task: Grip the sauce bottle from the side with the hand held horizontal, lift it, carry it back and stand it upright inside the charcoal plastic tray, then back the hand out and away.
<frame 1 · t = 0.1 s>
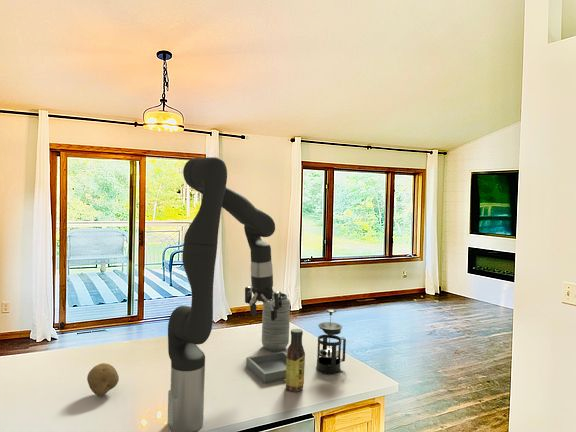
hand: (263, 317, 146), 22 cm above the counter, tool pointing down, fingers open, 8 cm apart
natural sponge: (103, 395, 132), on the counter
tray: (274, 371, 155), on the counter
vase: (274, 348, 179), on the counter
french press: (329, 369, 159), on the counter
sauce bottle: (294, 388, 142), on the counter
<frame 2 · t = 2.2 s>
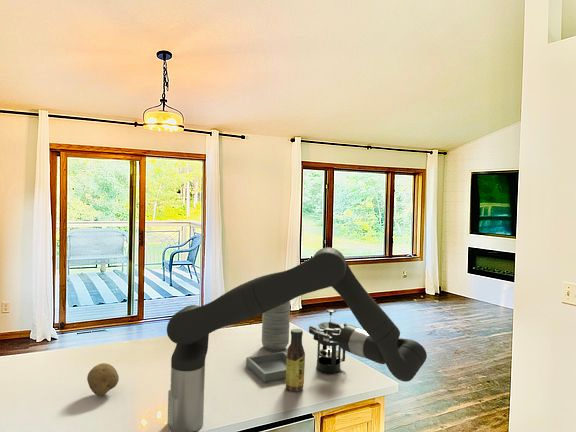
hand: (319, 326, 132), 24 cm above the counter, tool horizontal, fingers open, 8 cm apart
nothing on the counter moved.
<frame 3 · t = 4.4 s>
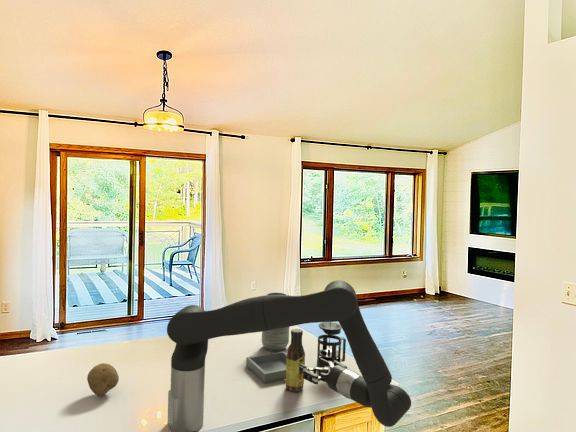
hand: (309, 363, 136), 11 cm above the counter, tool horizontal, fingers open, 8 cm apart
nothing on the counter moved.
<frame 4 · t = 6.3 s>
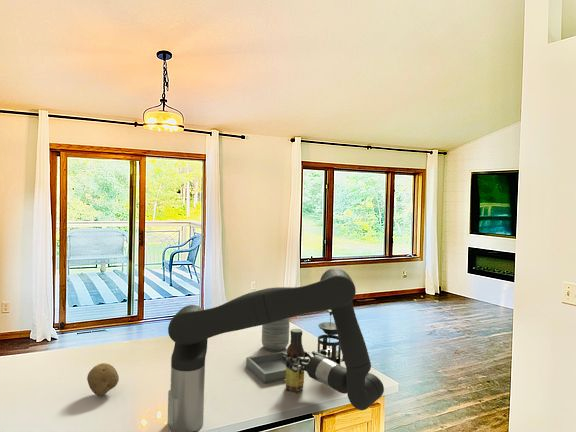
hand: (291, 354, 143), 11 cm above the counter, tool horizontal, fingers closed on sauce bottle, 6 cm apart
sauce bottle: (294, 388, 142), on the counter, touching gripper
everything else where it was.
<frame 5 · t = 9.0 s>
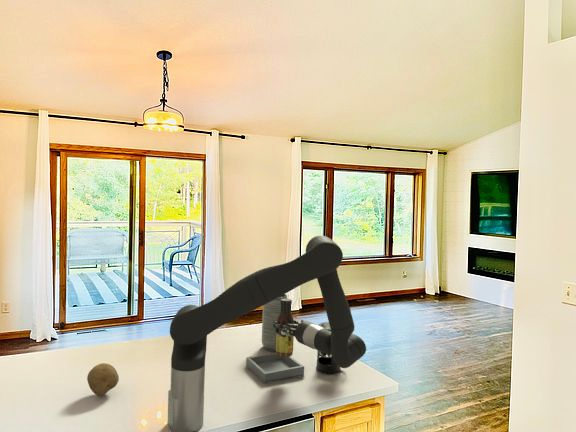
hand: (281, 322, 150), 20 cm above the counter, tool horizontal, fingers closed on sauce bottle, 6 cm apart
sauce bottle: (284, 355, 149), point 8 cm above the counter, touching gripper
everything else where it was.
when the fingers open (13 cm above the counter, at t = 11.8 s): sauce bottle drops 1 cm, resting on tray.
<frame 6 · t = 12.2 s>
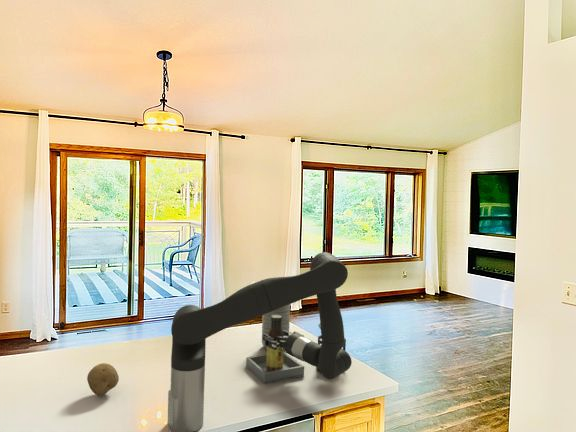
hand: (272, 334, 156), 13 cm above the counter, tool horizontal, fingers open, 8 cm apart
sauce bottle: (274, 369, 155), point 1 cm above the counter, touching tray
everything else where it was.
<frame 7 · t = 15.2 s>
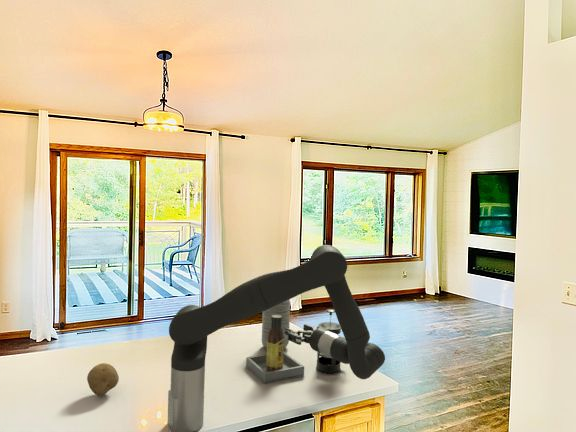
hand: (295, 328, 146), 19 cm above the counter, tool horizontal, fingers open, 8 cm apart
nothing on the counter moved.
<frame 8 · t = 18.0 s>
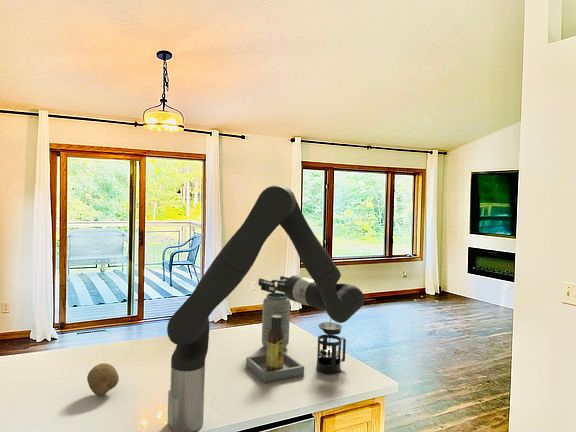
hand: (270, 280, 134), 38 cm above the counter, tool horizontal, fingers open, 8 cm apart
nothing on the counter moved.
at the end: sauce bottle inside the target area on the tray (0.2 cm from its centre), point 0.6 cm above the tray's base; sauce bottle tilted 0°; the gripper is holding nothing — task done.
